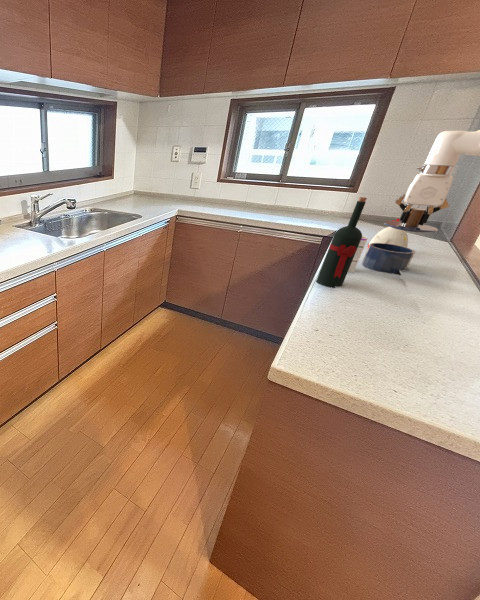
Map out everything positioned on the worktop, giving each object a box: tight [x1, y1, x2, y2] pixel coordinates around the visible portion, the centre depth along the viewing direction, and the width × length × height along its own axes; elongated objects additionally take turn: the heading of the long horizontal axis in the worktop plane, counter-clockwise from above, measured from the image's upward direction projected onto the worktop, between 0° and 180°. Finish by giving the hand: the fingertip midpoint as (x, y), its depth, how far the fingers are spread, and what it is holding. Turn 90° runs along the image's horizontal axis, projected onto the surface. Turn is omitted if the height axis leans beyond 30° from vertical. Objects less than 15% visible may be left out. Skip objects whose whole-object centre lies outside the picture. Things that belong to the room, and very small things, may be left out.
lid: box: [383, 207, 439, 233], centre depth 119 cm, size 15×15×7 cm
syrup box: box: [348, 234, 369, 273], centre depth 126 cm, size 6×6×14 cm
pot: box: [361, 243, 416, 275], centre depth 131 cm, size 14×19×8 cm
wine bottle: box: [315, 196, 367, 289], centre depth 109 cm, size 8×10×30 cm
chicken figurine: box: [367, 218, 409, 249], centre depth 152 cm, size 14×14×15 cm
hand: (411, 223), depth 120 cm, fingers closed on lid, 4 cm apart
